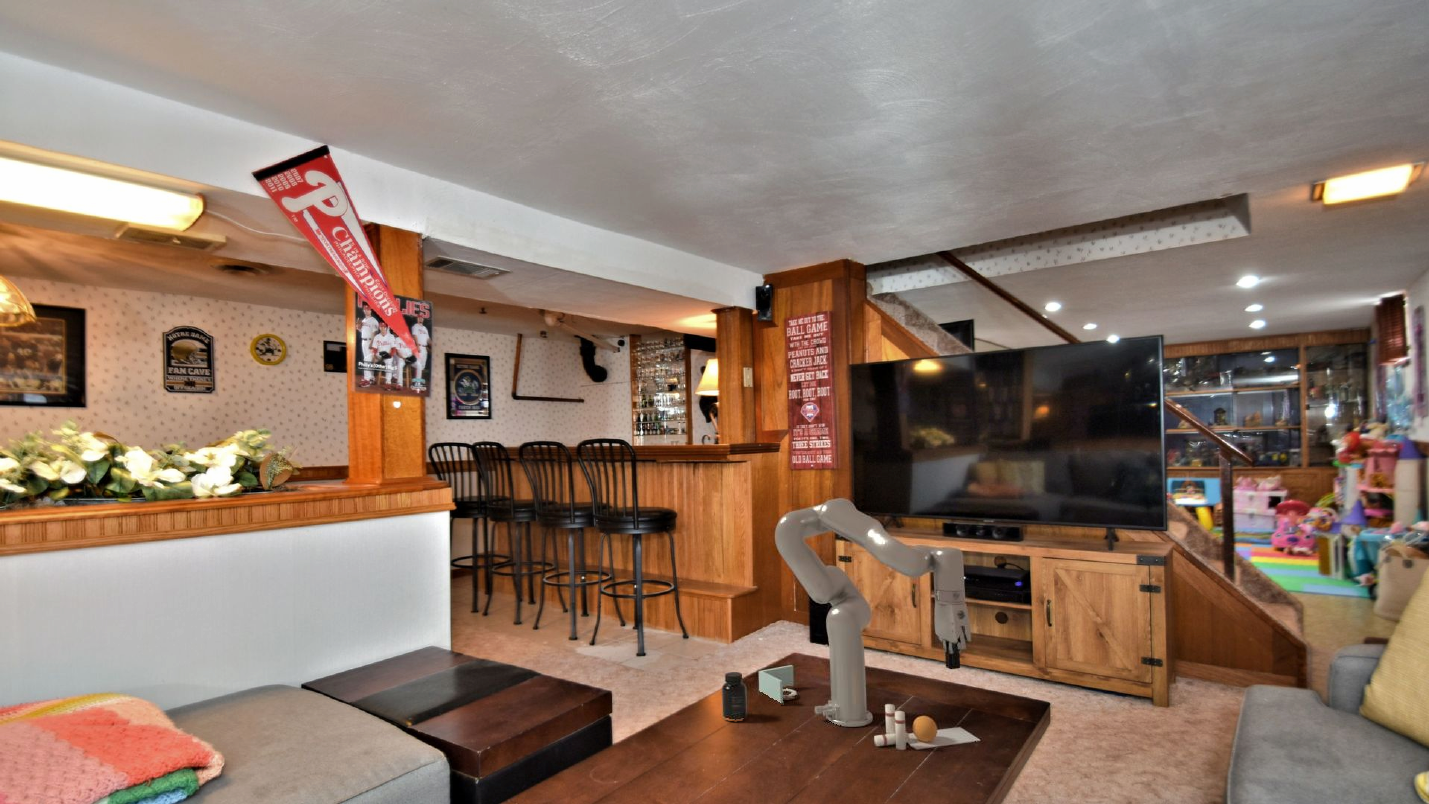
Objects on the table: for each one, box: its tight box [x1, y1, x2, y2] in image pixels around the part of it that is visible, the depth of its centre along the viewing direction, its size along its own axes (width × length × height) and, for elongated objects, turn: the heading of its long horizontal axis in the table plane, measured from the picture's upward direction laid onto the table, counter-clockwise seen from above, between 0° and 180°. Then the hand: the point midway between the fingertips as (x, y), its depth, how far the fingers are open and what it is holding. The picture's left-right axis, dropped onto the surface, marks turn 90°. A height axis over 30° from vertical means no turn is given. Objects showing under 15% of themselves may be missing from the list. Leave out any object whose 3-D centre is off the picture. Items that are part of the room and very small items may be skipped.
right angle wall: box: [758, 664, 798, 704], centre depth 215 cm, size 12×12×8 cm
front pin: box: [873, 731, 910, 747], centre depth 178 cm, size 2×2×8 cm
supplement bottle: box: [721, 671, 748, 720], centre depth 198 cm, size 7×7×12 cm
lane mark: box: [907, 726, 981, 750], centre depth 181 cm, size 18×9×1 cm, turn 104°
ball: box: [912, 715, 938, 742], centre depth 179 cm, size 6×6×6 cm
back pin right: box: [895, 710, 907, 751], centre depth 176 cm, size 2×2×8 cm
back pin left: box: [884, 703, 896, 735], centre depth 181 cm, size 2×2×8 cm
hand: (953, 667), depth 183 cm, fingers closed
